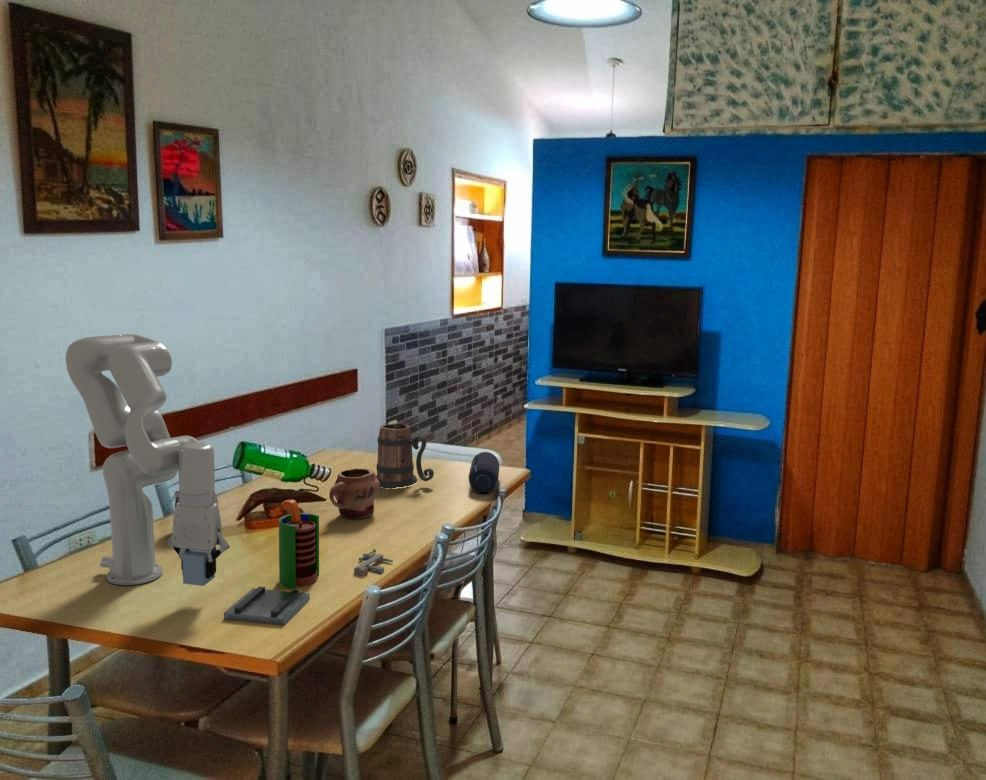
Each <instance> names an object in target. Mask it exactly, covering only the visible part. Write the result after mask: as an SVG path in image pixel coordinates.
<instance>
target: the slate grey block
mask: <svg viewBox="0 0 986 780" xmlns="http://www.w3.org/2000/svg"><path fill="white" fill-rule="evenodd" d="M182 557H183V574H182V583H183V584H184V585H193V586H198V587H199V586H200V587H204V586H206V585H207V584H208V583H210V582H211V581H212V580H213V579H215V578H216V573H215V574H214V575H213V576H212V577H211V578H209V579H207V578H206V562H207V561H208V560H207V556H206V553H205V551H200V550H191V549H189V550H188V551H186V552H185V553H183V554H182Z"/></svg>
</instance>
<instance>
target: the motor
mask: <svg viewBox="0 0 986 780" xmlns="http://www.w3.org/2000/svg"><path fill="white" fill-rule="evenodd" d="M282 510H283V511H289V512H290V513H289V514H286V515H283V516H281V517H280V518H279V519H278V566H279V567H278V570H279V573H278V574H279V575H278V577H279V578H278V579H279V582H278V583H279V585H280V586H282V587H283V588H285V589H291V590H296V588H304V587H309V586H312V585H314V584H316V583H317V581H318V577H320V515H318V514H316V513H309V512H301V511H300V507H299V504H298V502H297V501H296V500H295V499H286V500H284V501H283V502H282Z"/></svg>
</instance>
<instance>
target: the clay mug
mask: <svg viewBox="0 0 986 780" xmlns="http://www.w3.org/2000/svg"><path fill="white" fill-rule="evenodd" d="M376 475H377V474H376V472H375V470H373V469H370V468H351V469H346V470H343V471H340V472H339V473H338V474H337V478H336V480H335V482H334V484H333V485H332V486H331V488H330V490H329V498H328V499H329V500H330V501H331V503H332V505H333V506H334V507H336V508H338V512H339V514H340V516H341V517H342V518H344V519H350V520H359V519H360V520H361V519H365V518H368V517H371V516H372V515H373V514H374V513H375V505H374V504H375V498H376V496H377V494H378V493H379V490H380V489H381V488H380V483H379V481H378V480H377V477H376Z"/></svg>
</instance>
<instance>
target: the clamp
mask: <svg viewBox="0 0 986 780" xmlns="http://www.w3.org/2000/svg"><path fill="white" fill-rule="evenodd" d="M376 552H377V550H376V548H373V550H372V551H370V552H368V553H363V554H362V556H361V557H359V558H358V561H359V562H361V563H360V564H359V565H356V566H355V567H354V568H353V575H354V576H355V575H356V576H361V577H365V576H366V575H368V574H369V571H374V572H375V573H380V574H383V573H384V571H385V568H384V567H382V566H379V565H378V566H373V565H371V564H372V563H374V562H377V563H382V562H389V563H393V562H394V560H392V559H389V558H386V557H384V554H382V553H377V554H376V555H372V554H374V553H376ZM364 559H367V560H365V561H364V562H362V561H363V560H364Z"/></svg>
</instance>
